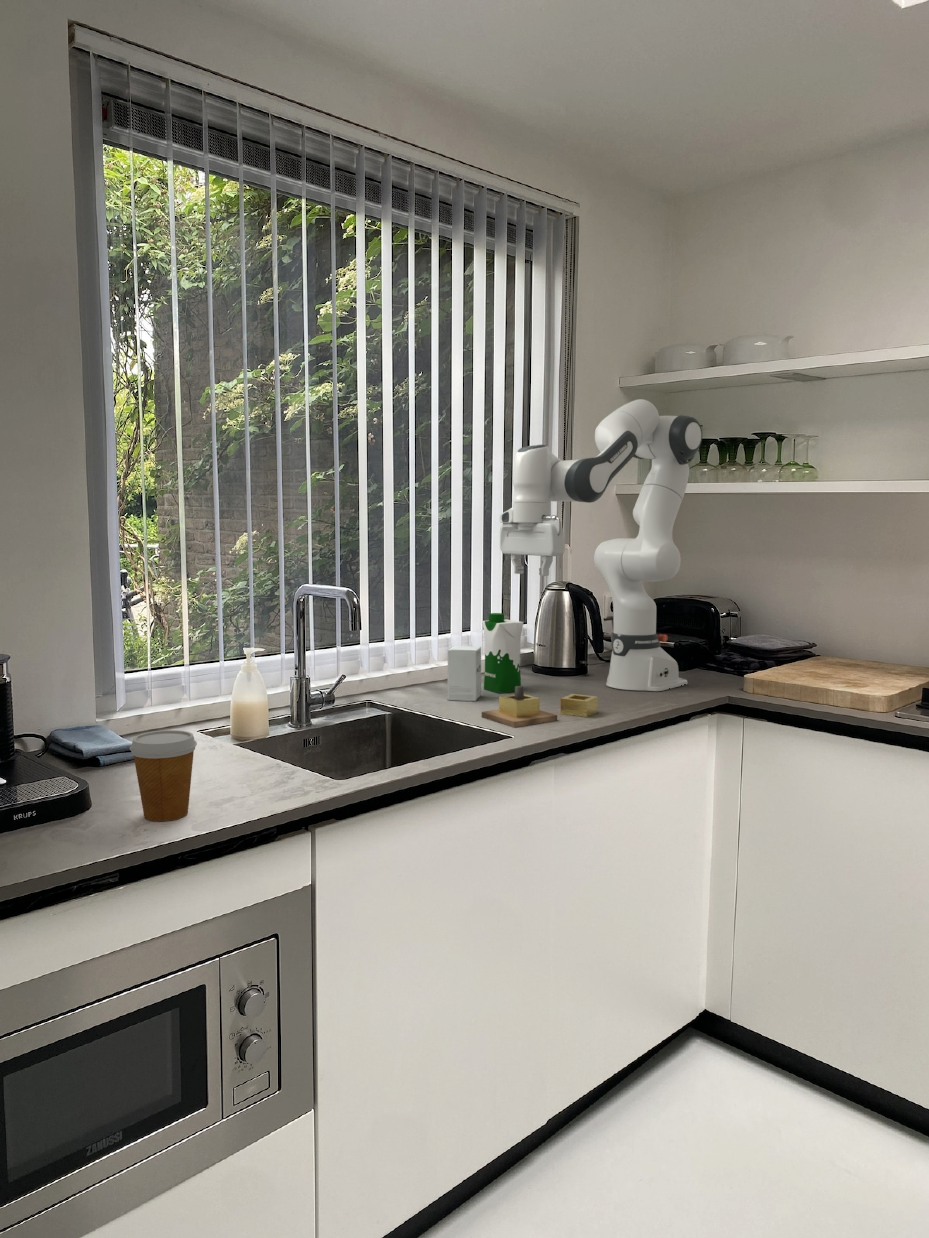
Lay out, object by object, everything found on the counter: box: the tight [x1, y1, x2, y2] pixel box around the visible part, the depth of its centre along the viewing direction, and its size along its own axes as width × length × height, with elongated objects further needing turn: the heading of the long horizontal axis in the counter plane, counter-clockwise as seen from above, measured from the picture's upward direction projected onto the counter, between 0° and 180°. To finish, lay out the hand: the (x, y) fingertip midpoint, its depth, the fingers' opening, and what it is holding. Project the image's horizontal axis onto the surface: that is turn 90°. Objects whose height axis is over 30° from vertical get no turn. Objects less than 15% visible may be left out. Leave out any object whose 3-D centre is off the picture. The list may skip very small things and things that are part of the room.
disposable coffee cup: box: [129, 729, 198, 822], centre depth 136 cm, size 10×10×12 cm
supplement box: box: [446, 645, 482, 702], centre depth 224 cm, size 7×7×13 cm
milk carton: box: [481, 612, 524, 694], centre depth 234 cm, size 9×9×20 cm
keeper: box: [481, 685, 558, 728], centre depth 201 cm, size 12×12×7 cm
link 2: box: [560, 693, 599, 718], centre depth 207 cm, size 6×6×4 cm
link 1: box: [498, 693, 541, 718], centre depth 201 cm, size 6×6×4 cm
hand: (531, 574), depth 212 cm, fingers open, 8 cm apart
